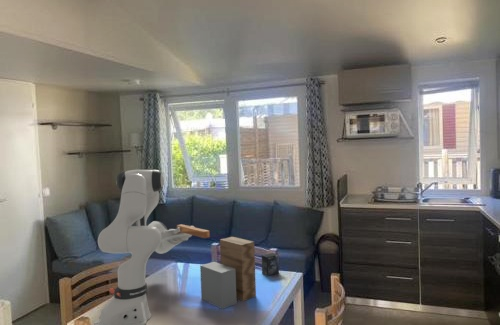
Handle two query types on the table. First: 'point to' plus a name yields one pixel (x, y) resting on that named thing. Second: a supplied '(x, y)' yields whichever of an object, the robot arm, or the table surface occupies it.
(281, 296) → the table surface
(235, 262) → the tall plinth
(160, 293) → the table surface
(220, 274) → the low plinth
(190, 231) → the bar
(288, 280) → the table surface
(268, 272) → the box
